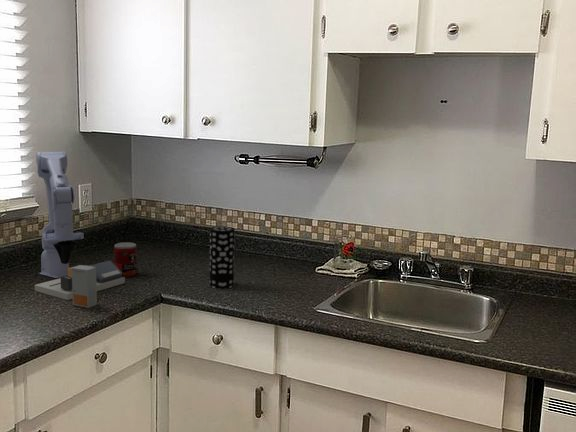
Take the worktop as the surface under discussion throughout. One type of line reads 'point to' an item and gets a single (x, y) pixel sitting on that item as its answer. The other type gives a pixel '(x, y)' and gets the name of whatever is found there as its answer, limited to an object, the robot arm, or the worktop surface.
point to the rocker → (106, 271)
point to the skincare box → (84, 286)
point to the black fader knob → (66, 283)
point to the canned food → (126, 258)
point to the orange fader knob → (70, 272)
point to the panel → (55, 289)
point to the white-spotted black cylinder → (222, 257)
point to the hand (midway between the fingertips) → (64, 263)
